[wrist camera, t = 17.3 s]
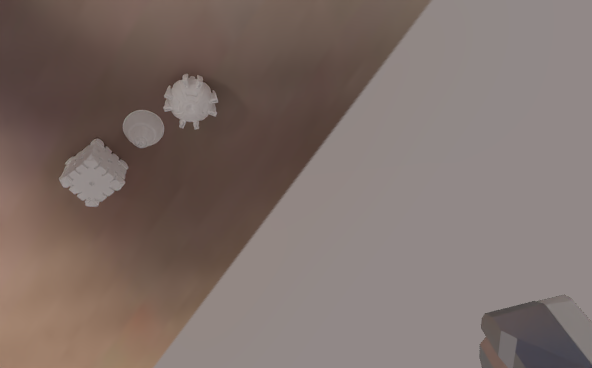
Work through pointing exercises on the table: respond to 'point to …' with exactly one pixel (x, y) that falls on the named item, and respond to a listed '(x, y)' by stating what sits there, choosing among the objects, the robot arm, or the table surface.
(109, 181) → the game pieces
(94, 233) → the table surface
